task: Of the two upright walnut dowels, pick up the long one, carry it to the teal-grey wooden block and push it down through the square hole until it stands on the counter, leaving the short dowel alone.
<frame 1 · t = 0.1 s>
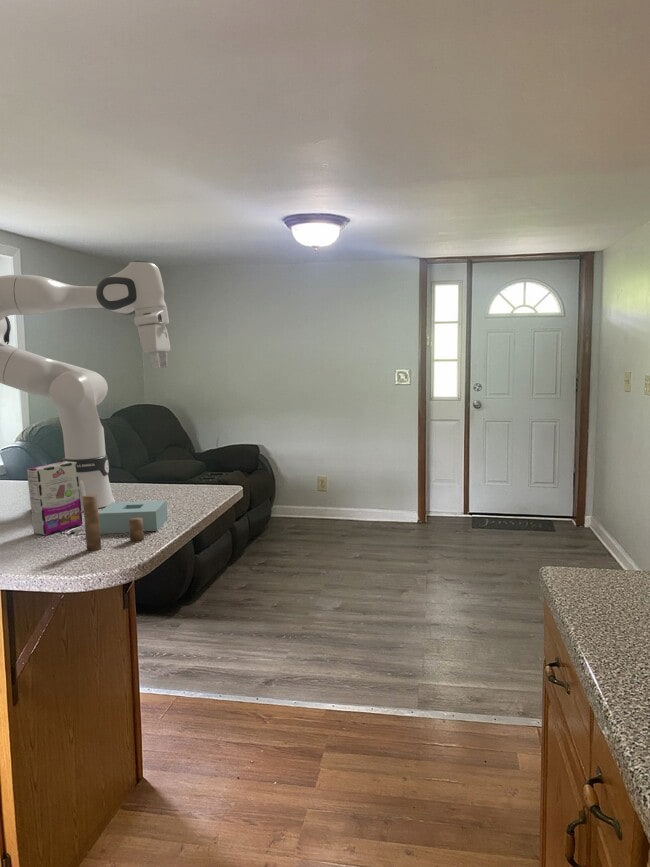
hand: (160, 368, 186), 39 cm above the worktop, tool pointing down, fingers open, 8 cm apart
short dowel: (137, 540, 151), on the worktop
candy bar box: (58, 530, 164), on the worktop
hole block: (134, 526, 164), on the worktop
long dowel: (94, 549, 145), on the worktop
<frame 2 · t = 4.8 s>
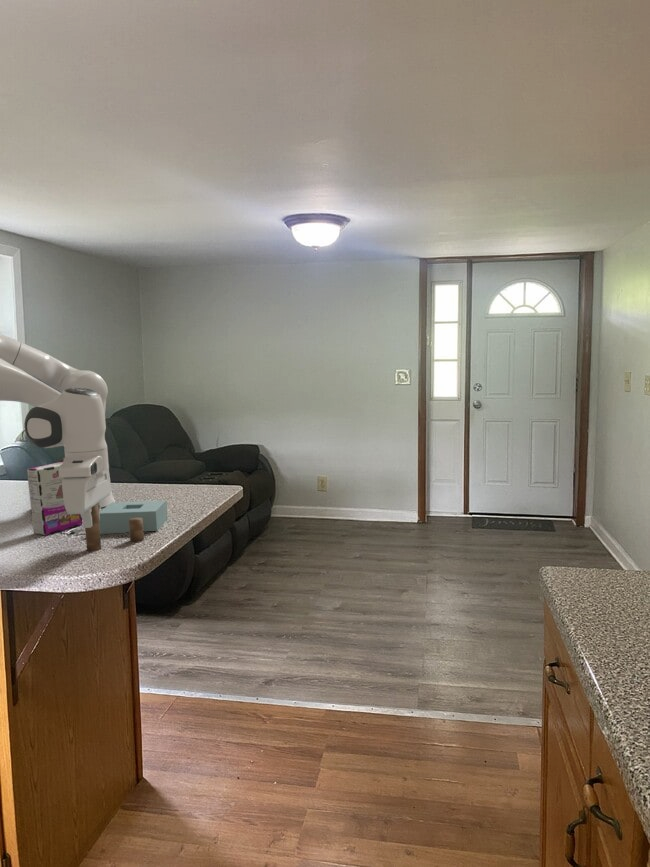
hand: (92, 524, 145), 6 cm above the worktop, tool pointing down, fingers closed on long dowel, 3 cm apart
long dowel: (94, 549, 145), on the worktop, touching gripper
everything else where it was.
when the fingers open (7 cm above the worktop, at t = 9.5 s): long dowel drops 1 cm, resting in hole block.
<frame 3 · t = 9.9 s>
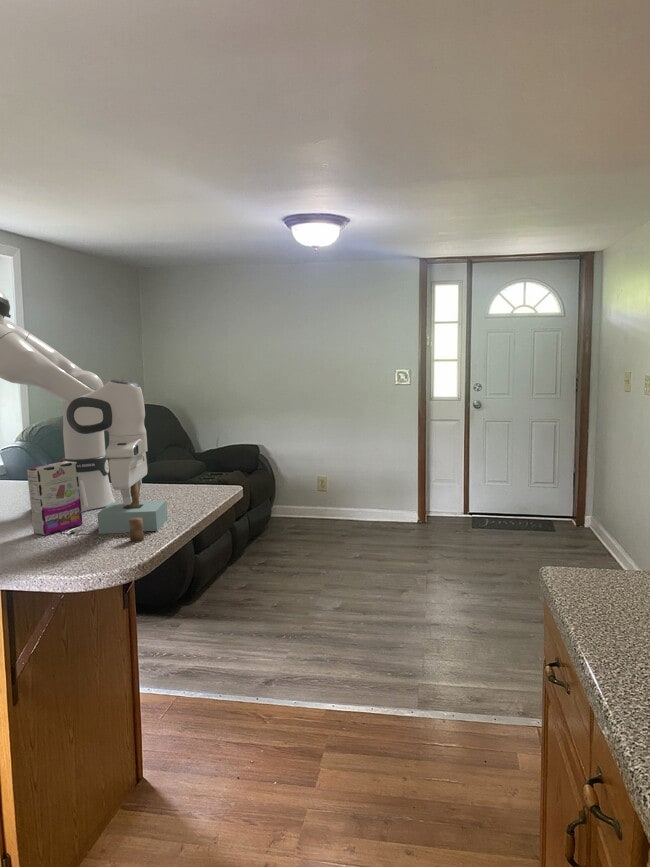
hand: (132, 500, 163), 7 cm above the worktop, tool pointing down, fingers open, 7 cm apart
long dowel: (134, 526, 164), resting in hole block
everything else where it was.
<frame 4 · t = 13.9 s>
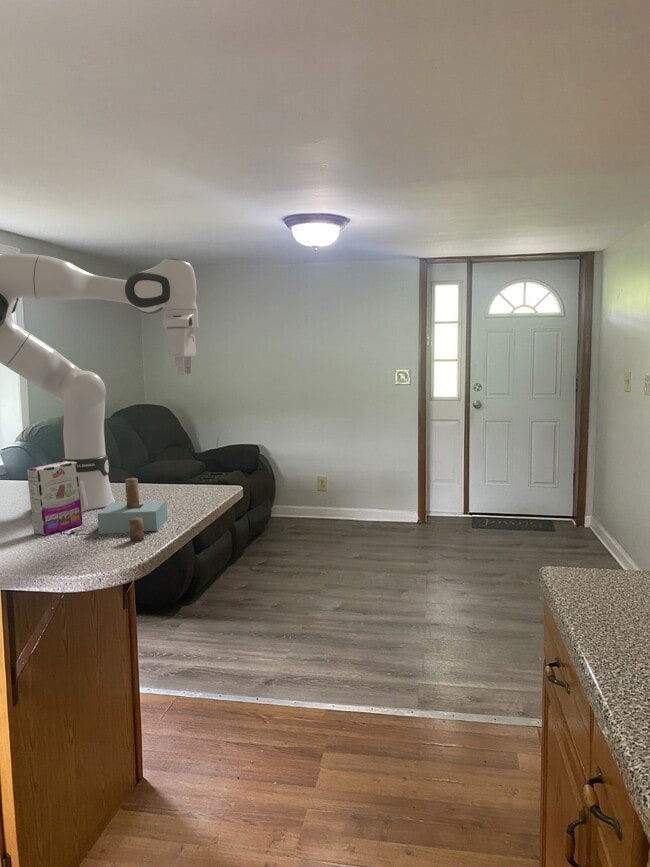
hand: (184, 374, 175), 37 cm above the worktop, tool pointing down, fingers open, 8 cm apart
nothing on the worktop moved.
at the end: long dowel 0.0 cm off-centre on the hole block, point 0.0 cm above the hole block's base; long dowel tilted 0°; short dowel moved 0.0 cm from its start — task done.
